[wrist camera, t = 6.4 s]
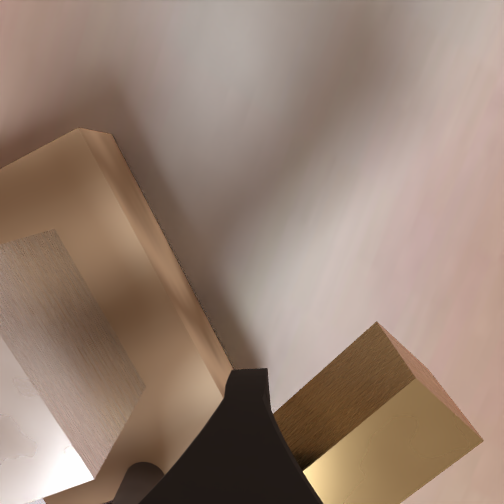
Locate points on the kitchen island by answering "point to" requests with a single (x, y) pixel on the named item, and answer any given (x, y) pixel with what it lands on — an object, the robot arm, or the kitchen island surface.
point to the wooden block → (374, 424)
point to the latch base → (123, 301)
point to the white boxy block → (56, 373)
